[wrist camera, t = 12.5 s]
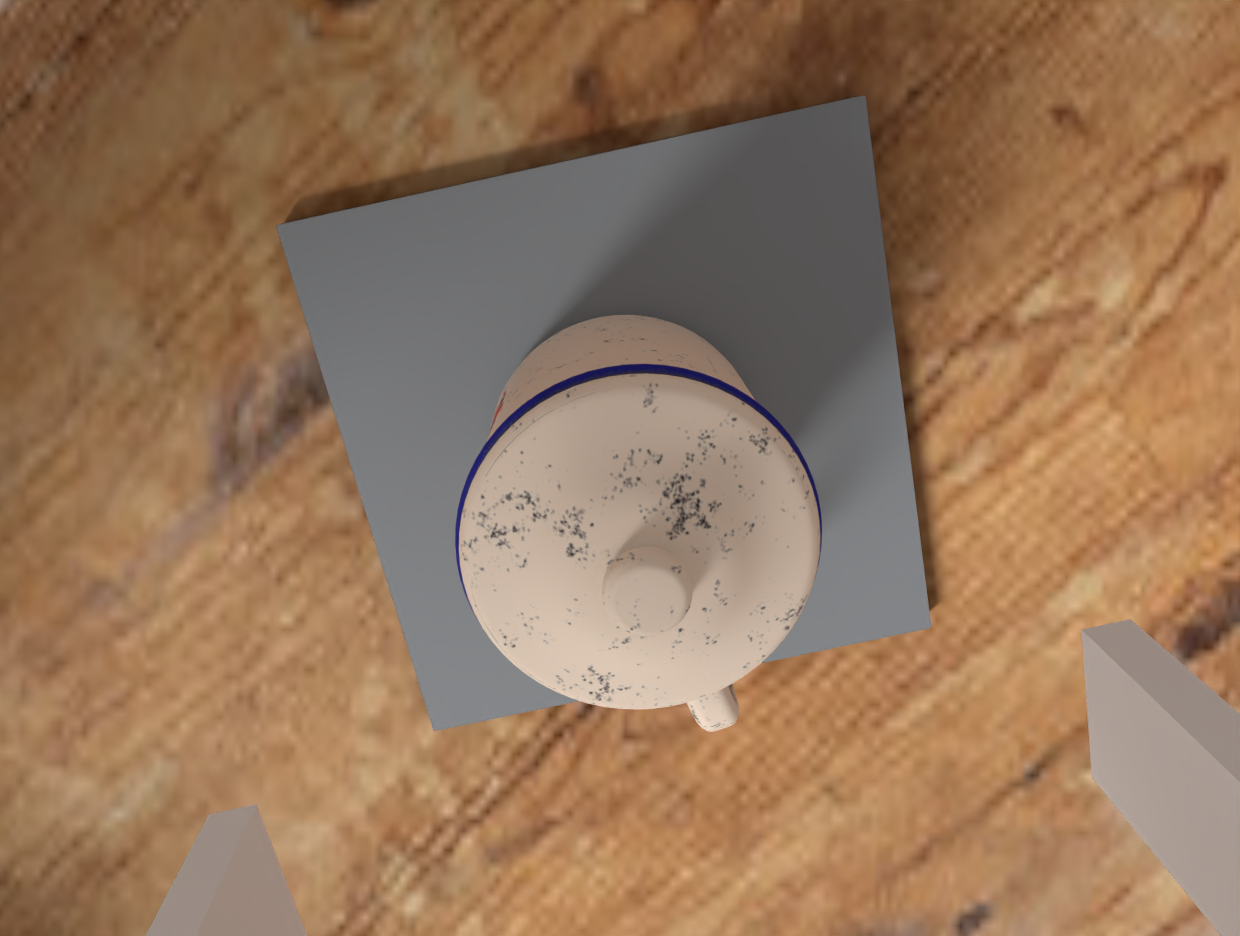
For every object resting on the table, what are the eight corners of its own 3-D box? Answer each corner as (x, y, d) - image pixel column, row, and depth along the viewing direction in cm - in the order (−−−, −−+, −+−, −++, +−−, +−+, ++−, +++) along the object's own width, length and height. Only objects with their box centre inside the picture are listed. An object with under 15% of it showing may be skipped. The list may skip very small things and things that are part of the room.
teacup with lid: (438, 366, 32) (367, 493, 21) (708, 260, 32) (780, 333, 21) (579, 677, 36) (581, 921, 25) (824, 588, 35) (938, 799, 24)
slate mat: (436, 718, 37) (433, 731, 36) (282, 223, 31) (275, 225, 31) (923, 617, 37) (931, 627, 36) (858, 95, 31) (865, 95, 30)
